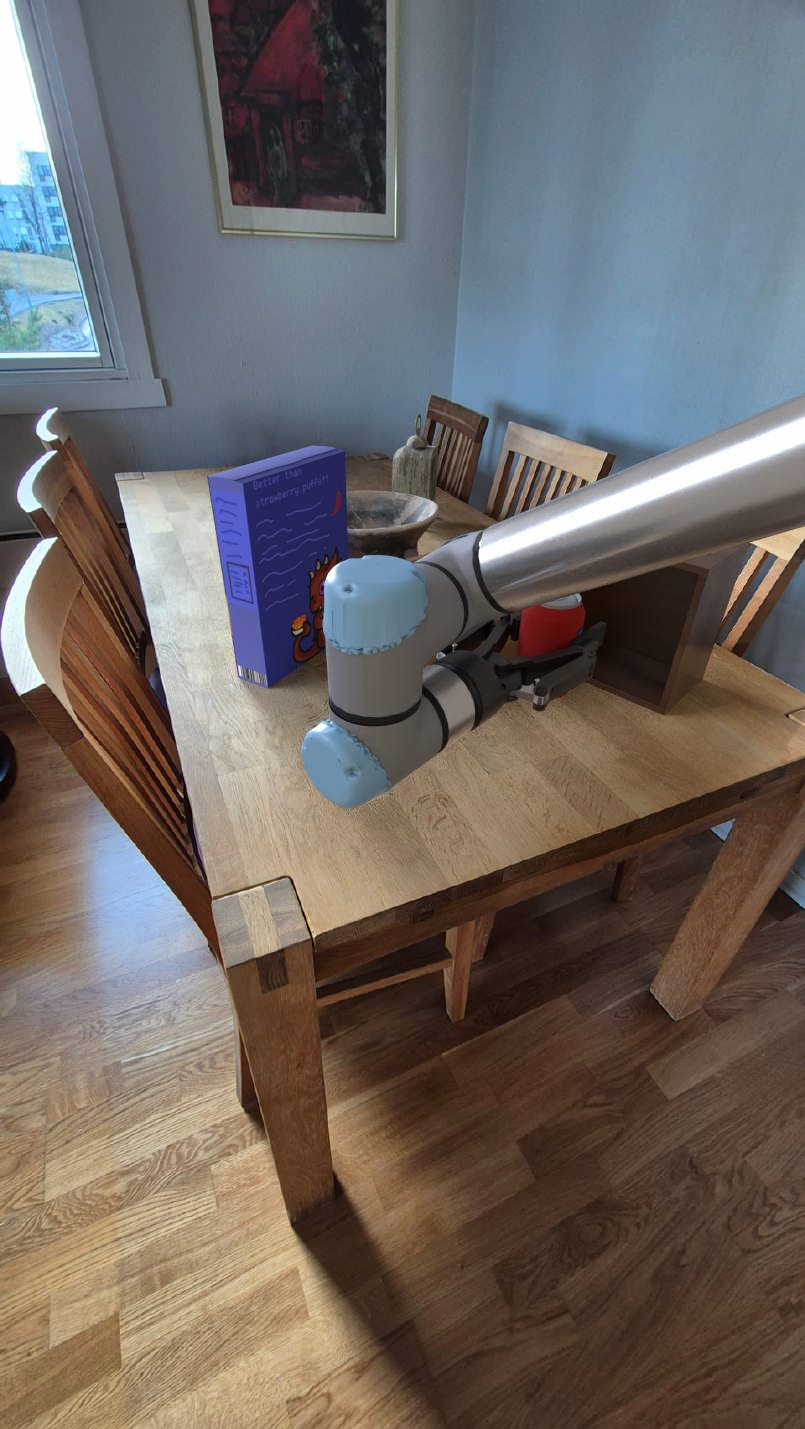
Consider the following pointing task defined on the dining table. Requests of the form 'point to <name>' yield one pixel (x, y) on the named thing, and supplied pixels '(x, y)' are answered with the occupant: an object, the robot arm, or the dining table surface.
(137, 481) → the dining table surface
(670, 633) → the cabinet
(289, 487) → the cereal box
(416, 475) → the grey bell
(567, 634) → the beverage can
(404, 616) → the robot arm
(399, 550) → the bowl
